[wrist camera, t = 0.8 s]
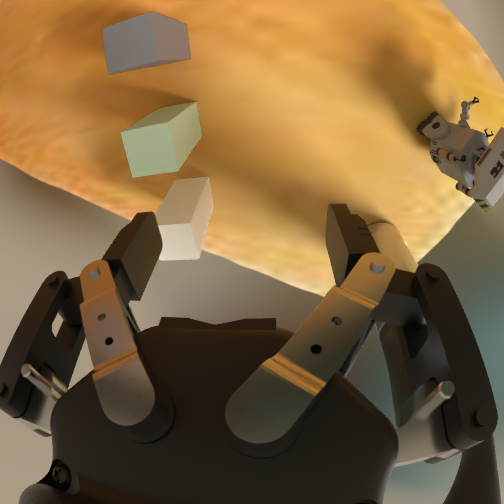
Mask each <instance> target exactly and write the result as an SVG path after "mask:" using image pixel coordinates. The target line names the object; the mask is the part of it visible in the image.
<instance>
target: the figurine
mask: <svg viewBox="0 0 504 504" xmlns="http://www.w3.org/2000/svg"><path fill="white" fill-rule="evenodd" d="M475 99H478V98H476V97H474V99H473V101H472V102H471V101H470V102H468V103H467V102H466V101H463V102H462V103H461V107H462V114H460V117H461V120H460V121H459V122H458V124H459V125H458V124H454V123H449V122H446V121H445V120H444V119H443V118H442V117H440V116H439V115H438V113H436V112H434V113H431V116H428V117H427V119H426V120H425V121H423V122H422V124H420V125H419V126H418V127H417V128H416V129H417V130H418V132H419V133H420V135H423V136H427V137H429V138H431V142H430V154H431V158H432V159H433V161H434V162H435V163H436V164H437V166H438V167H439V169H440V171H441V172H442V173H444V174H446V175H448V176H450V177H451V178H453V179H455V180H457V181H458V183H457V184H456V189H457V190H460V191H461V192H463V193H465V194H466V195H467V196H469V197H471V198H473V199H474V200H475V201H476V202H477V203H478V204H479V205H480V206H481V208H482V209H483V210H484V211H487V210H489V209H491V208H492V207H493V205H494V204H495V203H496V202H497V200H498V199H499V198H500V197H501V195H502V194H503V193H504V128H502V127H501V128H500V130H499V131H498V133H497V134H496V136H495V137H494V139H493V140H492V142H491V143H490V145H489V143H488V137H490V136H493V133H492V131H491V133H492V134H491V135H488V134H487V132H486V130H487V129H486V130H484V131H485V134H486V136H485V134H484V133H482V132H479V131H477V130H474V129H471V128H470V127H469V125H468V123H467V121H466V120H467V119H468V120H469V114H468V111H469V109H470V106H471V105H473V104H474V103H479V100H478V101H475ZM468 187H469V188H471V189H469V188H468Z"/></svg>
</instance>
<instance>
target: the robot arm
mask: <svg viewBox="0 0 504 504" xmlns="http://www.w3.org/2000/svg"><path fill="white" fill-rule="evenodd" d="M162 246H163V243H162V237H161V234H160V231H159V227H158V224H157V220H156V217H155V214H154V213H153V212H141V213H137V214H136V215H135V217H134V218H133V220H132V221H131V222H130V224H128V225H126V226H125V227H124V228H123V229H121V231H120V232H119V233H118V235H117V237H116V238H115V239H114V241H113V244H111V245H110V247H109V248H108V250H107V252H106V253H105V255H104V256H103V258H102V259H101V260H96V261H94V262H91V263H90V264H88V265H87V266H86V267H85V268H84V269H83V270H82V271H81V274H80V276H79V277H75V278H72V279H68V277H67V275H66V273H65V272H63V271H56V272H54V273H52V274H51V275H49V276H48V277H47V278H46V279H45V281H44V282H43V283H42V285H41V287H40V288H39V290H38V292H37V293H36V295H35V297H34V299H33V300H32V302H31V304H30V305H29V307H28V309H27V311H26V313H25V315H24V316H23V318H22V320H21V322H20V324H19V326H18V328H17V330H16V332H15V334H14V336H13V338H12V340H11V342H10V345H9V347H8V349H7V351H6V353H5V356H4V358H3V360H2V363H1V365H0V409H1V410H3V411H4V412H5V413H7V414H8V415H9V416H10V417H11V418H13V419H14V420H16V421H17V422H19V423H20V424H22V425H23V426H25V427H27V428H28V429H31V430H33V431H35V432H37V433H38V434H40V435H42V436H44V437H48V436H52V445H53V460H52V465H51V468H50V470H49V472H48V474H47V475H46V476H45V477H44V478H43V479H42V480H40V481H39V482H37V483H36V484H33V485H31V486H29V487H27V488H26V489H25V490H24V491H23V492H22V494H21V496H20V500H19V504H382V501H383V496H384V492H385V489H386V485H387V482H388V480H389V477H390V474H391V472H392V470H393V468H394V467H397V466H402V465H407V464H411V463H415V462H419V461H425V462H427V463H431V464H433V463H437V462H440V461H442V460H445V459H447V458H449V457H452V456H454V455H456V454H458V453H460V452H462V458H461V462H460V466H459V470H458V473H457V475H456V478H455V481H454V483H453V486H452V487H451V490H450V492H449V494H448V496H447V497H446V499H445V501H444V503H443V504H501V497H500V487H499V478H498V471H497V462H496V454H495V446H494V438H493V432H494V430H495V428H496V425H497V420H498V414H497V409H496V404H495V400H494V397H493V392H492V388H491V385H490V381H489V378H488V375H487V371H486V368H485V365H484V362H483V359H482V356H481V353H480V351H479V347H478V345H477V342H476V339H475V337H474V334H473V332H472V329H471V327H470V324H469V322H468V319H467V317H466V315H465V312H464V310H463V308H462V305H461V303H460V301H459V299H458V297H457V295H456V293H455V291H454V289H453V287H452V285H451V282H450V280H449V279H448V276H447V275H446V273H445V272H444V271H443V270H442V269H441V268H439V267H438V266H436V265H433V264H429V263H425V264H421V265H419V266H418V264H417V262H416V261H415V259H414V257H413V255H412V253H411V252H410V250H409V248H408V246H407V244H406V243H405V241H404V239H403V238H402V236H401V234H400V233H399V231H398V229H397V228H396V227H395V226H393V225H392V224H389V223H384V222H380V223H374V224H371V225H369V226H367V224H366V222H365V221H364V220H363V219H362V218H361V217H360V216H358V215H357V214H351V213H350V211H349V209H348V207H347V205H346V204H329V206H328V214H327V226H326V246H327V250H328V254H329V258H330V262H331V266H332V270H333V274H334V278H335V282H336V285H335V286H333V287H332V288H331V289H330V290H329V292H328V293H327V294H326V296H325V297H324V298H323V299H322V301H321V302H320V303H319V304H318V306H317V307H316V308H315V310H314V311H313V312H312V313H311V314H310V316H309V317H308V318H307V319H306V320H305V322H304V323H303V324H302V325H301V327H300V328H299V329H298V330H297V331H296V332H295V333H294V332H292V331H289V330H286V329H283V328H279V327H276V318H263V319H243V320H238V321H233V322H228V323H223V324H217V325H213V324H209V323H205V322H201V321H197V320H193V319H190V318H176V317H161V320H160V323H159V325H158V326H154V327H151V328H148V329H145V330H143V331H140V329H139V327H138V324H137V322H136V320H135V318H134V315H133V313H132V310H131V308H130V306H129V302H130V300H136V301H140V300H141V297H142V295H143V292H144V290H145V288H146V285H147V283H148V281H149V278H150V276H151V274H152V271H153V269H154V267H155V264H156V262H157V260H158V258H159V256H160V254H161V251H162ZM57 313H59V314H60V316H61V317H62V318H63V323H62V325H61V327H60V329H59V332H58V334H57V336H56V337H55V336H54V334H53V332H52V323H53V321H54V319H55V317H56V315H57ZM375 324H376V328H377V331H378V335H379V339H380V342H381V345H382V349H383V352H384V356H385V360H386V363H387V367H388V372H389V377H390V383H391V390H392V397H393V405H394V412H395V419H396V425H397V428H396V429H395V428H394V426H393V424H392V423H391V422H390V420H389V419H388V418H387V417H386V416H385V415H384V414H383V413H382V412H381V411H380V410H379V409H377V408H376V407H375V406H374V405H373V404H372V403H371V402H370V401H369V400H368V399H367V398H366V397H365V396H364V395H363V394H362V393H361V392H360V391H359V390H357V389H356V388H355V387H354V386H353V385H352V384H351V383H350V382H349V381H348V380H347V379H346V378H345V376H346V374H347V373H348V371H349V370H350V368H351V366H352V364H353V362H354V361H355V359H356V357H357V355H358V353H359V351H360V350H361V348H362V346H363V345H364V343H365V341H366V340H367V338H368V336H369V334H370V332H371V331H372V329H373V327H374V325H375ZM85 338H86V339H87V344H88V348H89V352H90V356H91V359H92V363H93V367H94V369H93V370H92V371H91V372H90V373H88V374H87V375H86V376H85V377H84V378H82V379H81V380H80V381H79V382H78V383H76V384H75V385H74V386H73V387H72V388H70V389H69V390H68V387H69V383H70V380H71V377H72V374H73V371H74V368H75V365H76V362H77V360H78V357H79V354H80V351H81V348H82V346H83V343H84V340H85Z"/></svg>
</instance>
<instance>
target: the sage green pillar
mask: <svg viewBox="0 0 504 504" xmlns="http://www.w3.org/2000/svg"><path fill="white" fill-rule="evenodd" d="M121 136H122V140H123V144H124V148H125V152H126V156H127V160H128V163H129V167H130V171H131V174H132V178H135V177H142V176H149V175H155V174H163V173H170V172H178V171H179V169H180V168H181V166H182V165H183V163H184V162H185V160H186V159H187V157H188V156H189V154H190V153H191V152H192V150H193V149H194V147H195V146H196V144H197V143H198V142H199V140H200V139H201V137H202V133H201V126H200V120H199V113H198V106H197V102H190V103H184V104H178V105H173V106H167V107H162V108H159V109H158V110H156V111H154V112H152V113H151V114H149V115H147V116H146V117H144V118H142V119H141V120H139V121H137V122H136V123H134V124H133V125H131V126H130V127H128V128H126V129H125V130H123V131H122V132H121Z"/></svg>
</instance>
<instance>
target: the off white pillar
mask: <svg viewBox="0 0 504 504" xmlns="http://www.w3.org/2000/svg"><path fill="white" fill-rule="evenodd" d="M213 207H214V205H213V199H212V193H211V187H210V181H209V176H206V177H196V178H186V179H178V180H175V181H174V183H173V184H172V186H171V188H170V189H169V191H168V193H167V194H166V196H165V198H164V199H163V201H162V203H161V204H160V206H159V208H158V210H157V211H156V213H155V217H156V220H157V224H158V227H159V231H160V234H161V237H162V243H163V246H162V251H161V254H160V256H159V259H160V260H184V259H185V260H186V259H199V258H200V254H201V250H202V247H203V243H204V239H205V236H206V232H207V229H208V225H209V221H210V218H211V214H212V211H213Z"/></svg>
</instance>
